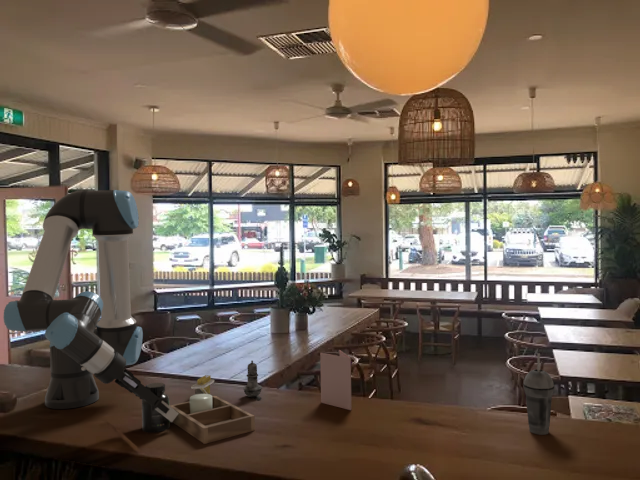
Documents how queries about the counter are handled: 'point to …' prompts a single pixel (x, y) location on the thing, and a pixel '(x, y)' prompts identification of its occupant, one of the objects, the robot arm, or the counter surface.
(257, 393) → the salt shaker
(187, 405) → the caddy
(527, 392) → the beverage cup
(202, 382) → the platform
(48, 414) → the counter surface
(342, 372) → the greeting card
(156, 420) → the supplement bottle
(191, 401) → the pale green dome
